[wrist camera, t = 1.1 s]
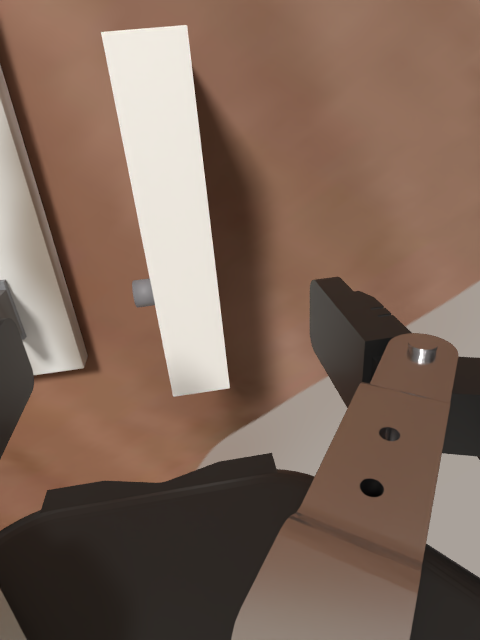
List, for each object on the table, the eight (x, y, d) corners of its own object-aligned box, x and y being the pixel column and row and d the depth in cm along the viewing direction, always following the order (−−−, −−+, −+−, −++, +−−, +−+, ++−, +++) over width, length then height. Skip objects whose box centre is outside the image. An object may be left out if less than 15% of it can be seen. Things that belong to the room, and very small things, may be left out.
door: (183, 50, 23) (186, 25, 15) (215, 313, 30) (229, 388, 23) (104, 57, 23) (65, 35, 15) (157, 321, 30) (150, 400, 22)
